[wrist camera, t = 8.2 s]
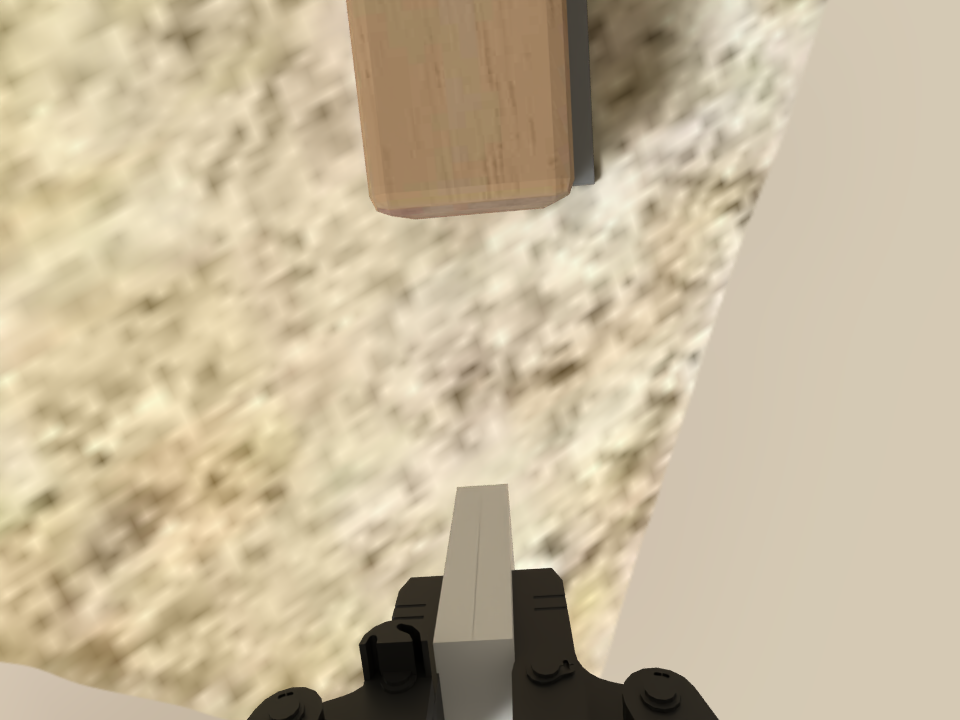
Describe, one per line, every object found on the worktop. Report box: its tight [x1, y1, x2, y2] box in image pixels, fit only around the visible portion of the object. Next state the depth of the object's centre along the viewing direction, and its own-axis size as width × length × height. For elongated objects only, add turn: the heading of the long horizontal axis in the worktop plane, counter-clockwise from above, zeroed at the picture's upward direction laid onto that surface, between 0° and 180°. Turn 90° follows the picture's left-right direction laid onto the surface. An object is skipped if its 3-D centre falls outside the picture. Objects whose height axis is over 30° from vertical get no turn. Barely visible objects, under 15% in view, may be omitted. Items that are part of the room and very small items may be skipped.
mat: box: [566, 0, 595, 186], centre depth 35 cm, size 21×14×1 cm, turn 5°
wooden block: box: [346, 0, 575, 219], centre depth 30 cm, size 10×10×20 cm
